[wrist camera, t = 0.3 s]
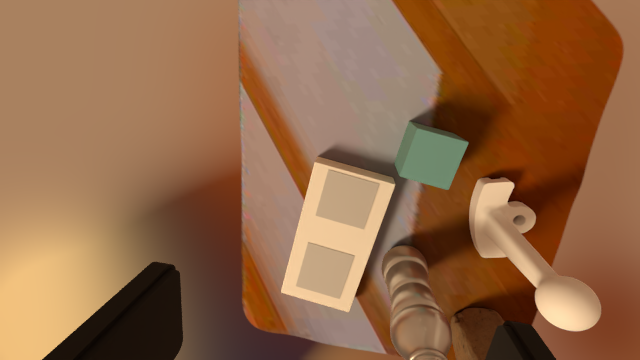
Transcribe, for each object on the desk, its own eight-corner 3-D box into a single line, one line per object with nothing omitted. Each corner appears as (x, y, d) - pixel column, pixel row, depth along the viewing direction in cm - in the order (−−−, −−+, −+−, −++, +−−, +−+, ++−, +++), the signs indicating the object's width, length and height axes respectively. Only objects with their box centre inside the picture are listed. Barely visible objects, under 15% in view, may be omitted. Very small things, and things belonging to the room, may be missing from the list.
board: (317, 156, 43) (314, 162, 40) (392, 177, 43) (395, 184, 40) (285, 280, 51) (280, 292, 48) (349, 299, 50) (348, 312, 48)
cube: (409, 120, 40) (417, 128, 35) (453, 133, 40) (468, 142, 35) (394, 163, 42) (399, 176, 37) (436, 174, 42) (448, 190, 37)
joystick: (470, 178, 42) (561, 262, 23) (530, 174, 41) (678, 258, 22) (468, 249, 45) (546, 373, 26) (523, 247, 44) (646, 375, 25)
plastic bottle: (372, 264, 48) (381, 386, 29) (396, 231, 46) (422, 341, 27) (407, 283, 48) (438, 416, 29) (433, 252, 46) (485, 374, 27)
